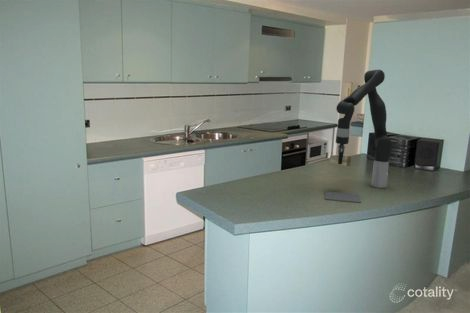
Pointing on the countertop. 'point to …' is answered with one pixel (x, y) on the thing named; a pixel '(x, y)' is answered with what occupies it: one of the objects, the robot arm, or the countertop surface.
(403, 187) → the countertop surface
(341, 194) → the mat
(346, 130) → the robot arm
